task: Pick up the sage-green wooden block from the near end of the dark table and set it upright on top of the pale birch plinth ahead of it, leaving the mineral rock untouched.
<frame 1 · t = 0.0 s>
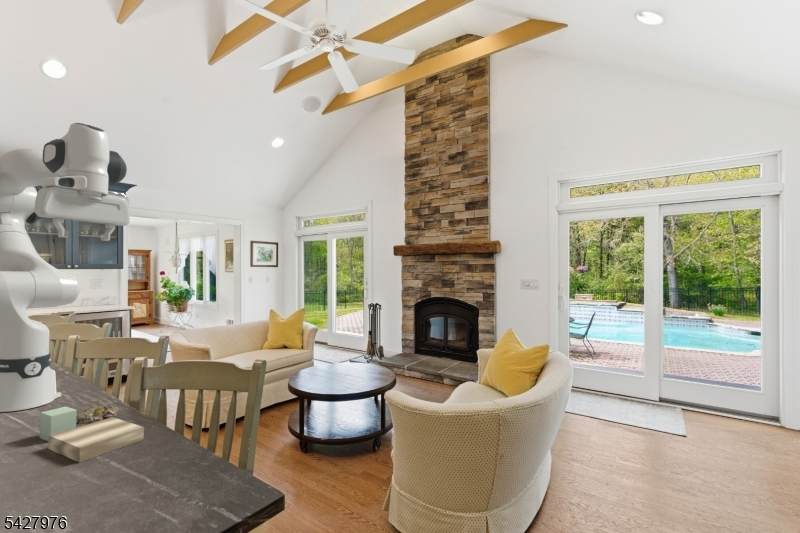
hand: (85, 239, 103), 48 cm above the table, fingers open, 8 cm apart
sage block: (57, 436, 95), on the table
mineral rock: (93, 420, 106), on the table
birch plinth: (97, 444, 91), on the table
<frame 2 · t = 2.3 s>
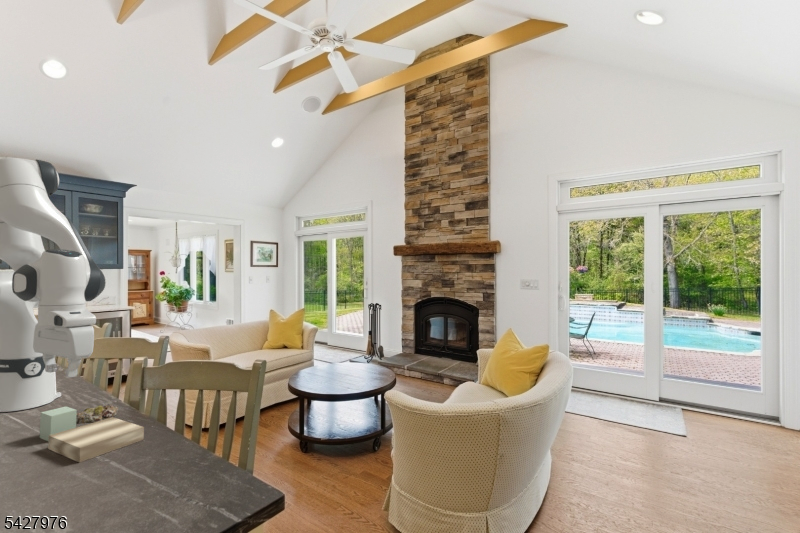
hand: (61, 374, 95), 15 cm above the table, fingers open, 8 cm apart
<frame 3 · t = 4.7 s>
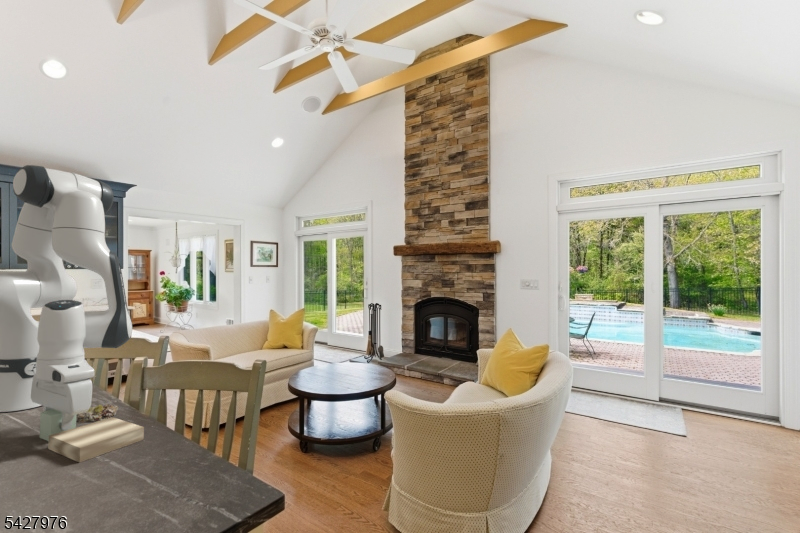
hand: (58, 426, 95), 2 cm above the table, fingers closed on sage block, 5 cm apart
sage block: (57, 435, 95), on the table, touching gripper
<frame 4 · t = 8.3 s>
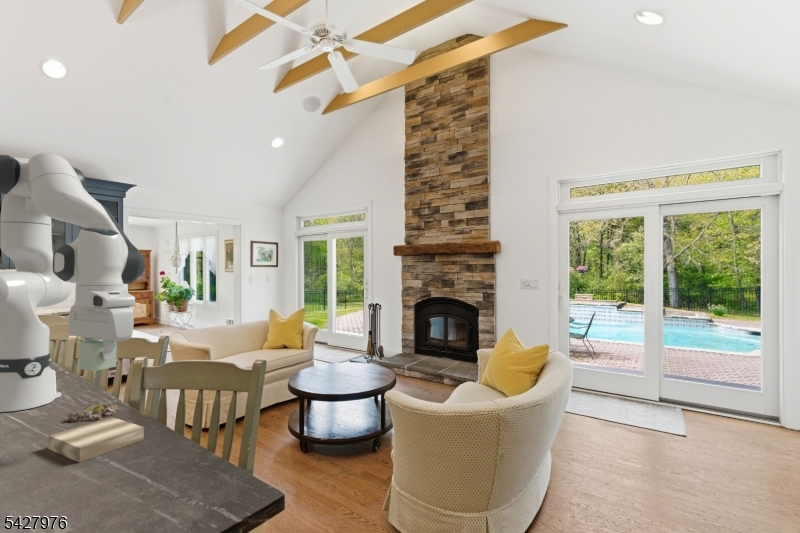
hand: (98, 357, 91), 20 cm above the table, fingers closed on sage block, 5 cm apart
sage block: (98, 367, 91), point 18 cm above the table, touching gripper
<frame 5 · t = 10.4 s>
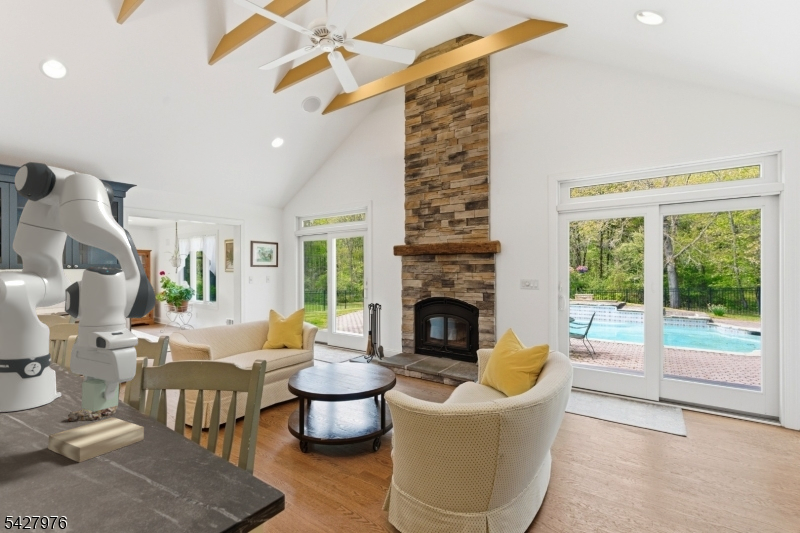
hand: (100, 396, 91), 11 cm above the table, fingers closed on sage block, 5 cm apart
sage block: (100, 406, 91), point 9 cm above the table, touching gripper
when the fingers open (7 cm above the table, at t = 12.3 s): sage block drops 1 cm, resting on birch plinth.
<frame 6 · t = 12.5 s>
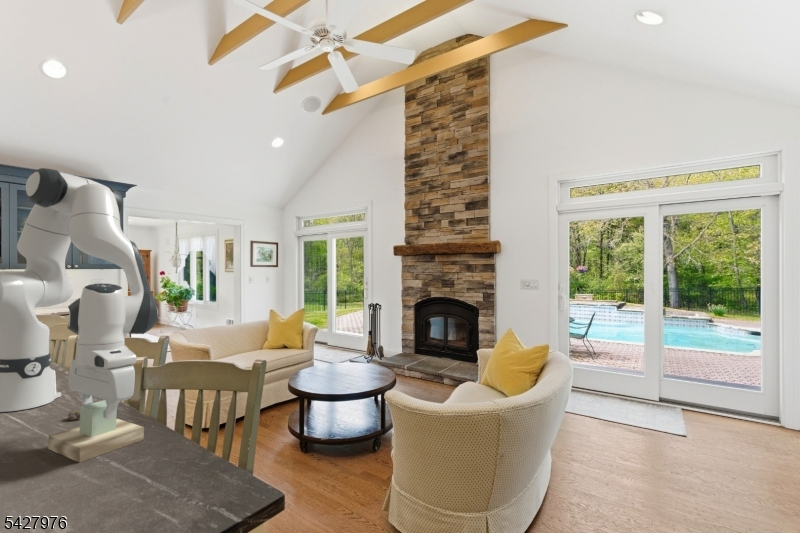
hand: (98, 414, 91), 7 cm above the table, fingers open, 7 cm apart
sage block: (97, 431, 91), point 3 cm above the table, touching birch plinth
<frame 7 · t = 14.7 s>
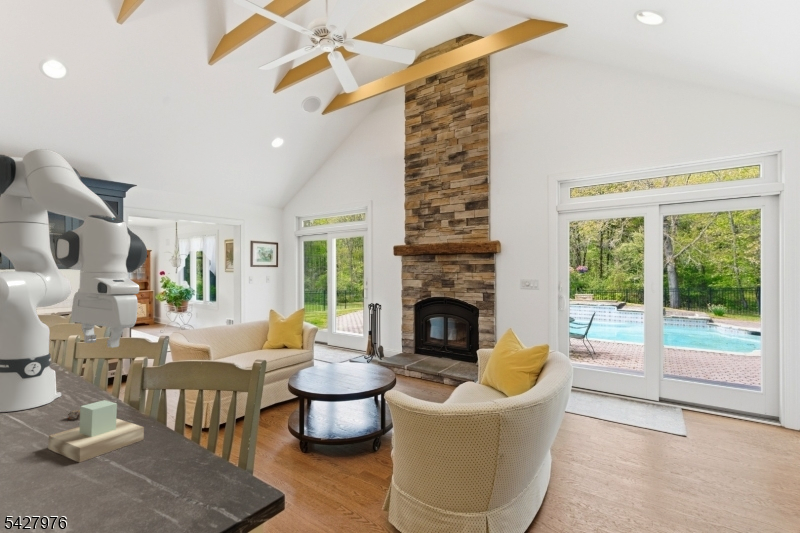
hand: (101, 344, 91), 23 cm above the table, fingers open, 8 cm apart
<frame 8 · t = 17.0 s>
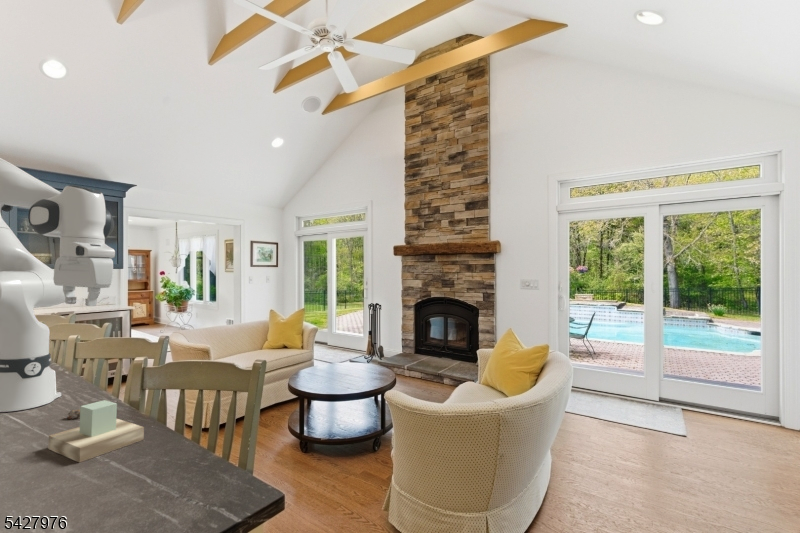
hand: (80, 305, 100), 31 cm above the table, fingers open, 8 cm apart
at the end: sage block inside the target area on the birch plinth (0.1 cm from its centre), point 3.0 cm above the birch plinth's base; sage block tilted 0°; the gripper is holding nothing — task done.
